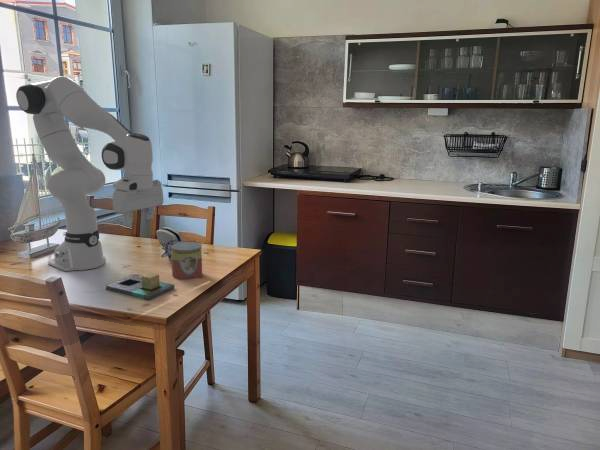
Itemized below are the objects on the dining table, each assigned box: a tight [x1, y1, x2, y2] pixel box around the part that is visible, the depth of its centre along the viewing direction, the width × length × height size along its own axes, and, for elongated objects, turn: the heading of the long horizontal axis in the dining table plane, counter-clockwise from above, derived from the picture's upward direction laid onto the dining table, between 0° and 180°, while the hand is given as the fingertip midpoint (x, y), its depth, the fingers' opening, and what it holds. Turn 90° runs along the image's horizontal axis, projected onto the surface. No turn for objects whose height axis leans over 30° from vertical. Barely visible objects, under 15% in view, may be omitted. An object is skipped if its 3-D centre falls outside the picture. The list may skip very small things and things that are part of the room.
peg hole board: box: [105, 275, 175, 302], centre depth 161 cm, size 20×12×2 cm, turn 63°
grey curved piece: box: [155, 226, 184, 246], centre depth 216 cm, size 17×5×10 cm, turn 50°
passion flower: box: [160, 237, 185, 263], centre depth 195 cm, size 11×11×12 cm
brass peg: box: [141, 272, 160, 292], centre depth 158 cm, size 4×4×6 cm
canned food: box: [171, 241, 203, 281], centre depth 175 cm, size 11×11×12 cm
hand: (139, 221), depth 161 cm, fingers open, 8 cm apart
